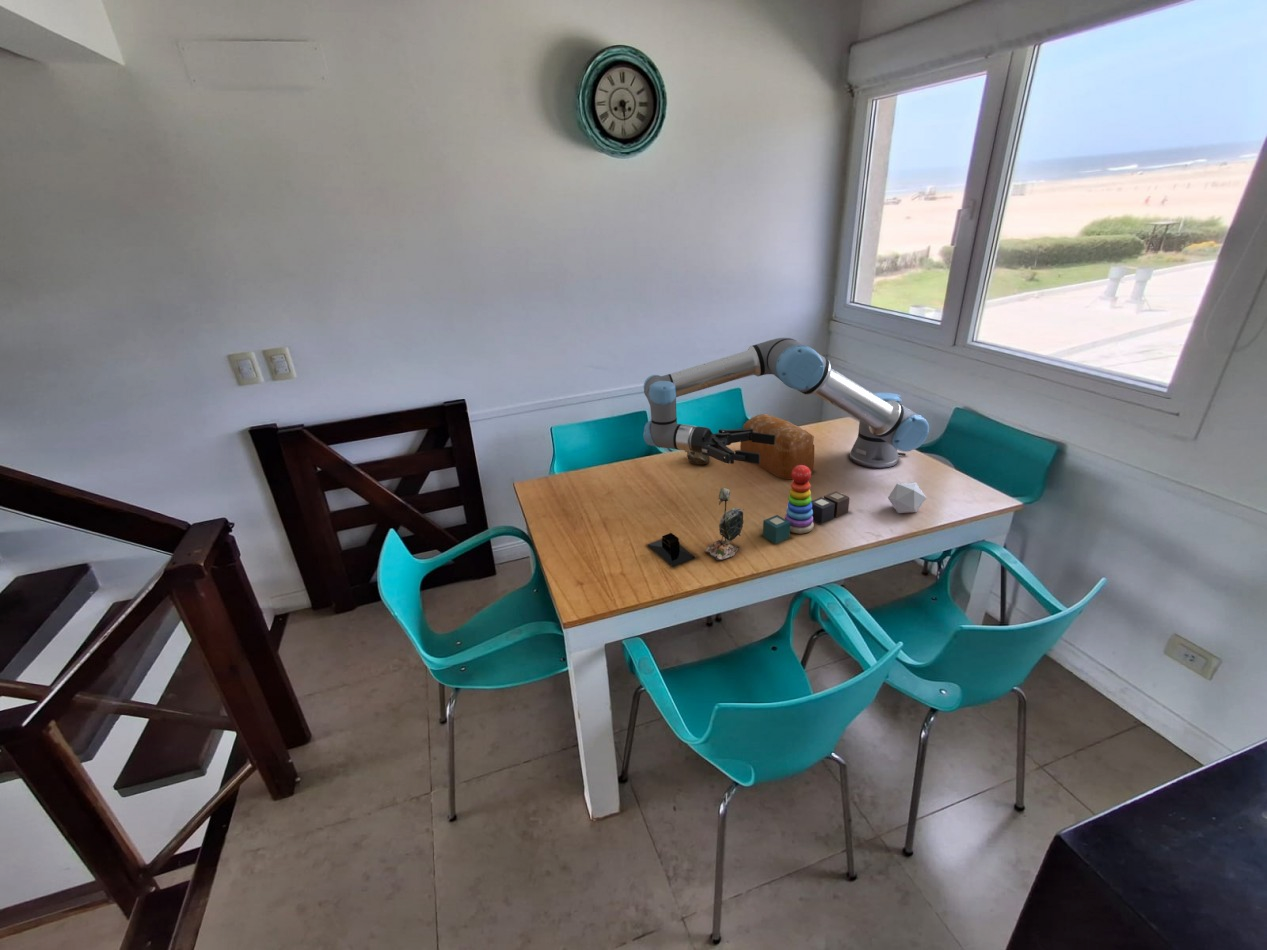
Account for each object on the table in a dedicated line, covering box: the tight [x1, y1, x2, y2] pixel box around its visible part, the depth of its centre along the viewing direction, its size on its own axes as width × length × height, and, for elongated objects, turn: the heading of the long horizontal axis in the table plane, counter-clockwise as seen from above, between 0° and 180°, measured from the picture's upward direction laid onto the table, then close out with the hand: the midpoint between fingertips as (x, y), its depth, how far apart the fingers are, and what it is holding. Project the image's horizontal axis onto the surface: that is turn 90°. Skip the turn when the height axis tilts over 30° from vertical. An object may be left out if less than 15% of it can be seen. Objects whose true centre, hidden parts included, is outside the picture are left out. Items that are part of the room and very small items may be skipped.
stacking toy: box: [784, 465, 815, 535], centre depth 151 cm, size 8×8×19 cm
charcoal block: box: [811, 496, 835, 525], centre depth 157 cm, size 5×5×5 cm
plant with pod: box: [704, 487, 745, 561], centre depth 143 cm, size 8×11×20 cm
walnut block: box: [823, 490, 851, 518], centre depth 160 cm, size 5×5×5 cm
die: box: [887, 482, 927, 514], centre depth 158 cm, size 8×9×10 cm
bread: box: [739, 413, 815, 480], centre depth 190 cm, size 14×26×16 cm, turn 26°
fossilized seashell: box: [686, 451, 711, 466], centre depth 198 cm, size 8×7×10 cm
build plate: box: [647, 532, 696, 568], centre depth 147 cm, size 12×7×5 cm, turn 30°
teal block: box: [762, 514, 791, 545], centre depth 150 cm, size 5×5×5 cm
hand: (767, 449), depth 150 cm, fingers open, 13 cm apart
